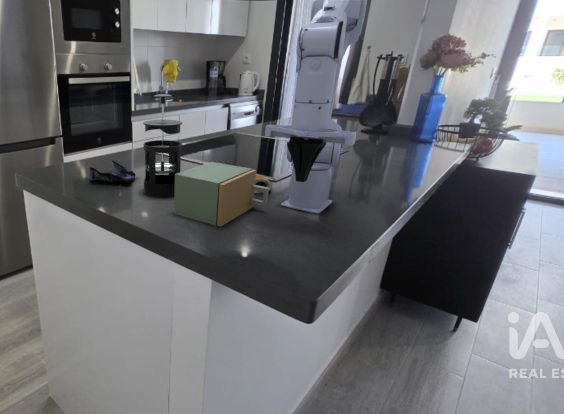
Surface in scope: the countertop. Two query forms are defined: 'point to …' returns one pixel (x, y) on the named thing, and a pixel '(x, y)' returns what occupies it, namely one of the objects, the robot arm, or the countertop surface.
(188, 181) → the cupboard
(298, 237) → the countertop surface
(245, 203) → the door
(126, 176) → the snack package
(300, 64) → the robot arm
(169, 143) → the french press
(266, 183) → the pastry
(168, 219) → the countertop surface
